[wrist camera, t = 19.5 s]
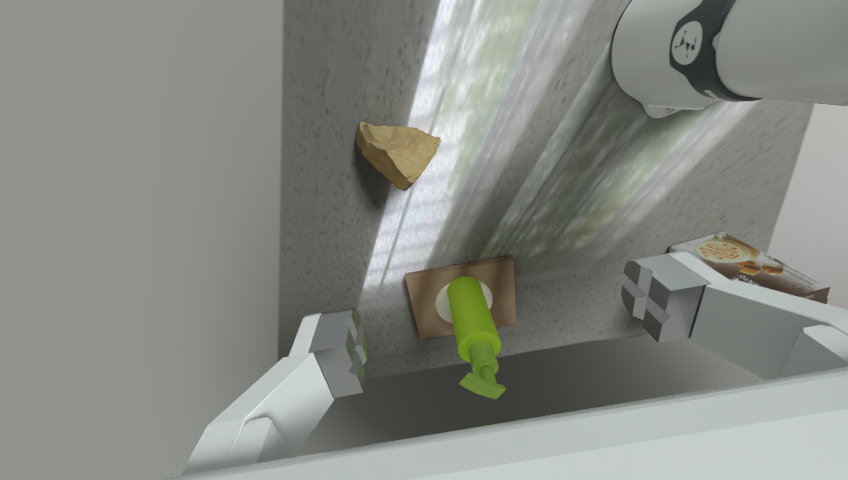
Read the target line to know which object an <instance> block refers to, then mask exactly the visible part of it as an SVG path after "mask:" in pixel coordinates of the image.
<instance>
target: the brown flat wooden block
mask: <svg viewBox="0 0 848 480" xmlns="http://www.w3.org/2000/svg"><path fill="white" fill-rule="evenodd" d="M462 276H470V277H473V278H475V279H476V280H478V281H479V283H480V285H481V288H482V290H483V293H484V296H485V299H486V302H487V305H488V307H489V310H490V313H491V316H492V319H493V322H494V324H495V327H501V326H507V325H513V324H516V301H515V278H514V260H513V258H512V256H511V255H510V256H504V257H499V258H493V259H487V260H481V261H475V262H470V263H464V264H458V265H452V266H446V267H440V268H435V269H429V270H423V271H417V272H411V273H406V282H407V286H408V291H409V295H410V299H411V304H412V308H413V312H414V316H415V321H416V325H417V329H418V333H419V338H420V340H423V339H429V338H435V337H441V336H447V335H453V334H455V331H454V326H453V321H452V316H451V311H450V306H449V301H448V295H447V288H448V286H449V284H450V283H451V282H452V281H453V280H454V279H456V278H458V277H462Z"/></svg>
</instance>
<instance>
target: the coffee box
mask: <svg viewBox="0 0 848 480" xmlns="http://www.w3.org/2000/svg"><path fill="white" fill-rule="evenodd" d="M676 251H684V252H687V253H689V254H690V255H692V256H694V257H695V258H697V259H698V260H700V261H701V262H703V263H704V264H706V265H707V266H709V267H711V268H712V269H714V270H715V271H717V272H718V273H720V274H721V275H723V276H724V277H726V278H727V279H729V280H731V281H735V280H738V281H742V282H746V283H750V284H753V285H757V286H761V287H764V288H768V289H772V290H775V291H779V292H783V293H787V294H790V295H794V296H798V297H801V298H805V299H809V300H812V301H816V302H820V303H823V304H827V300H828V299H827V295H828V292H829V289H830V286H827V285H826V284H824V283H822V282H820V281H817V280H816V279H814V278H812V277H810V276H808V275H806V274H804V273H802V272H800V271H798V270H796V269H794V268H792V267H790V266H788V265H786V264H785V263H783V262H781V261H779V260H777V259H775V258H773V257H771V256H769V255H767V254H765V253H763V252H761V251H759V250H757V249H755V248H753V247H751V246H749V245H747V244H746V243H744V242H742V241H740V240H738V239H736V238H734V237H732V236H730V235H728V234H726V233H724V232H719V233H715V234H712V235H709V236H705V237H702V238H698V239H695V240H691V241H688V242H684V243H681V244H678V245H674V246H671V247H670V248H669V253H671V252H676Z"/></svg>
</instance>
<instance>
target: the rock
mask: <svg viewBox="0 0 848 480" xmlns="http://www.w3.org/2000/svg"><path fill="white" fill-rule="evenodd" d="M440 142H441V140H440V138H439V137H433V136H431V135H429V134H426V133H425V132H423V131H421V130H418V129H417V128H410V127H406V126H395V127H392V126H390V127H389V126H374V125H371V124H369V123H366V122H360V123H359V127H358V131H357V135H356V145H357V147H358V148H359V149H360V151H361V152H362V155H363V156H364V157H365V158H366V159H367V160H368V161H369V162H370V164H371V165H372V166H373V167H374V168H375V169H376V170H377V171H378V172H380V173H381V174H383V175H384V176H385V177H386V178H387V179H388V180H389V181H390V182H391V183H393V184H394V185H395V186H396V187H397V188H399V189H401V190H403V191H406V190H407V189H408V188H410V187H411V186H412V184H413V183H414V182H415V181H416V180H417V178H418V177H419V176H420V175H421V174H422V172H423V171H424V169H425V168H426V167H427V165H428V163H429V162H430V160H431V159H432V158H433V156H434V155H435V154H436V151H437V148H438V146H439V143H440Z"/></svg>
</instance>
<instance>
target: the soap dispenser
mask: <svg viewBox="0 0 848 480" xmlns="http://www.w3.org/2000/svg"><path fill="white" fill-rule="evenodd" d="M447 295H448V301H449V306H450V311H451V316H452V321H453V326H454V331H455V337H456V342H457V347H458V352H459V355H460V356H461V358H462V359H464V360H465V361H467V362H470V363H471V368H472V372H473V374H472V373H468V374H467V375H466V376H465V377H464V378H463V379H462V381H461V382H460V383H459V384H460V385H462V386H463V387H465V388H466V389H469V390H470V391H472V392H474V393H477V394H479V395H482V396H486V397H489V398H493V399H497V398H498V397H499V396H500V395H501V394H502V393H503V392H504V391H505V387H504V386H503V385H499V384H497V383H496V379H495V376H494V375H495V374H496V373H497V371H498V363H497V359H496V356H497V355H498V353H499V352H500V349H501V341H500V339H499V336H498V333H497V330H496V327H495V324H494V322H493V319H492V316H491V313H490V310H489V307H488V305H487V302H486V299H485V296H484V293H483V290H482V288H481V285H480V283H479V281H478V280H476V279H475V278H473V277H470V276H462V277H458V278H456V279H454V280H453V281H452V282H451V283H450V284H449V286H448V288H447Z"/></svg>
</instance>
